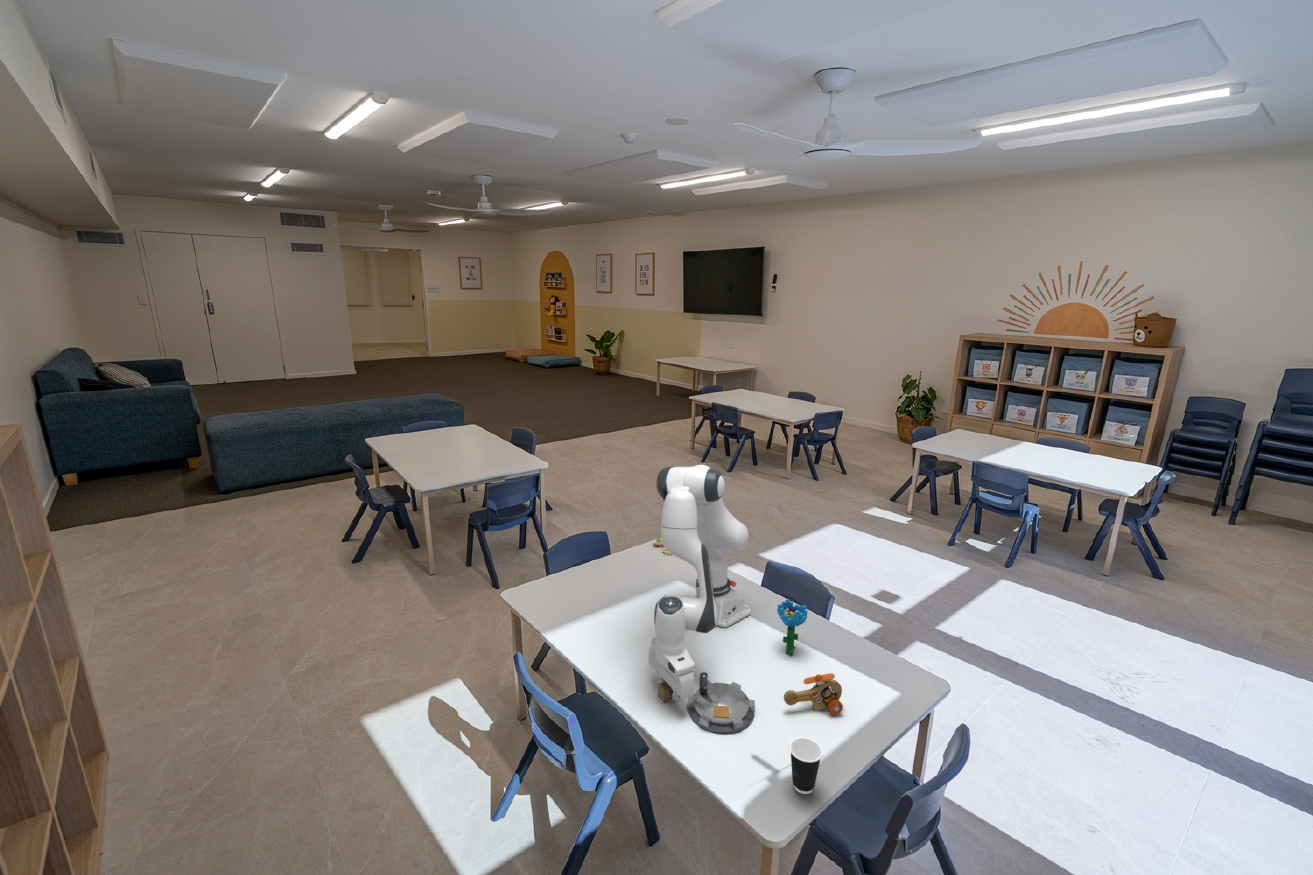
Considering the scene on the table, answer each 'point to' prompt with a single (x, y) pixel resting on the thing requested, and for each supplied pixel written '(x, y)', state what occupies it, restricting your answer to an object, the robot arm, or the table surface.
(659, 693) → the wooden block
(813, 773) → the dixie cup
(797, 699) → the toy helicopter
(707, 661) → the table surface
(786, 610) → the toy flower
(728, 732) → the sprocket base
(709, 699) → the sprocket
